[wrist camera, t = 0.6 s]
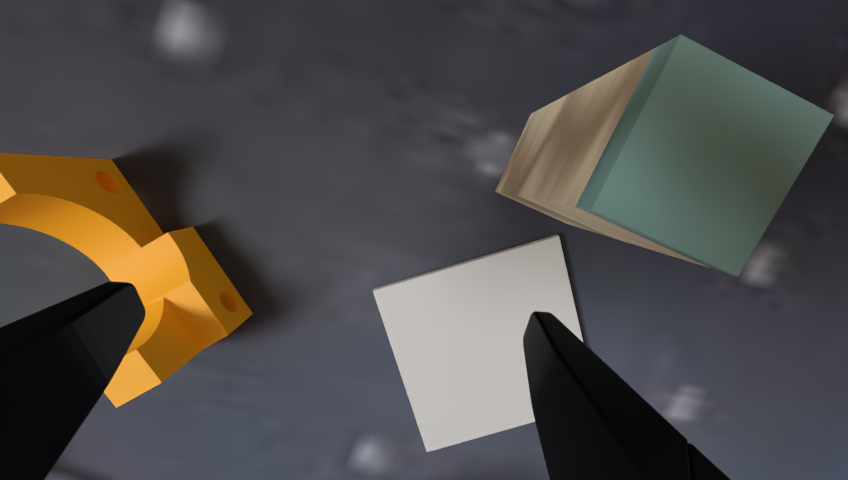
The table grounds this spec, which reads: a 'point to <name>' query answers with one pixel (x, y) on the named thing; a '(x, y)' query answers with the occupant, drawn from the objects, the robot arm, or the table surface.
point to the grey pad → (473, 338)
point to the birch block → (668, 155)
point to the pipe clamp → (127, 260)
